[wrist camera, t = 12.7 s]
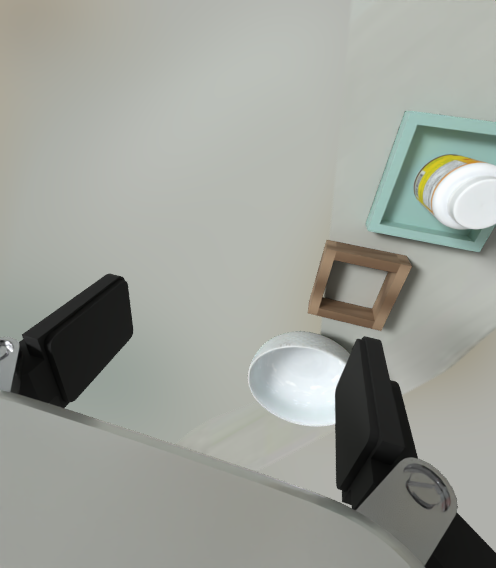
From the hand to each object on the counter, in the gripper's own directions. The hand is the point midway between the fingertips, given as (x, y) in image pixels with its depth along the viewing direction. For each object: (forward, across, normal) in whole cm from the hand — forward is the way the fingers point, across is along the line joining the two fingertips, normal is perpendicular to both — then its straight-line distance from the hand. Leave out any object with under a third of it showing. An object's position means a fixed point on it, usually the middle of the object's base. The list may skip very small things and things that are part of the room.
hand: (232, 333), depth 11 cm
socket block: (+28, -10, +11) cm, 32 cm away
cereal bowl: (+29, -7, +27) cm, 40 cm away
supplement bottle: (+28, -15, -3) cm, 32 cm away
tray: (+28, -15, -3) cm, 32 cm away
